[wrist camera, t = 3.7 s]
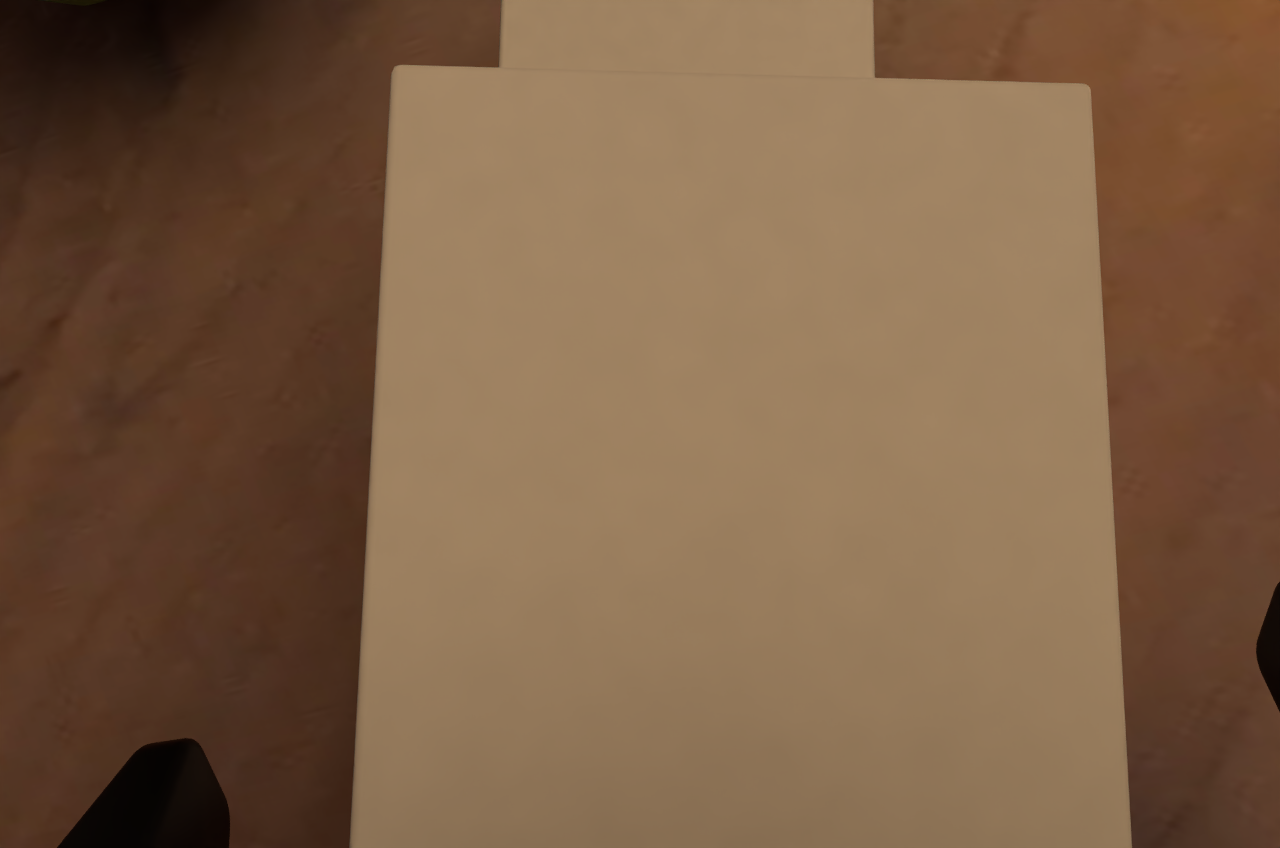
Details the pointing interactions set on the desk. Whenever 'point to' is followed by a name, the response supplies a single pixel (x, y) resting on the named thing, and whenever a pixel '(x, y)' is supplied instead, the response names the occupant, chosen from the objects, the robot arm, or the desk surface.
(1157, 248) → the desk surface
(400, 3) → the desk surface
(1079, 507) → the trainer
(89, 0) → the apple
